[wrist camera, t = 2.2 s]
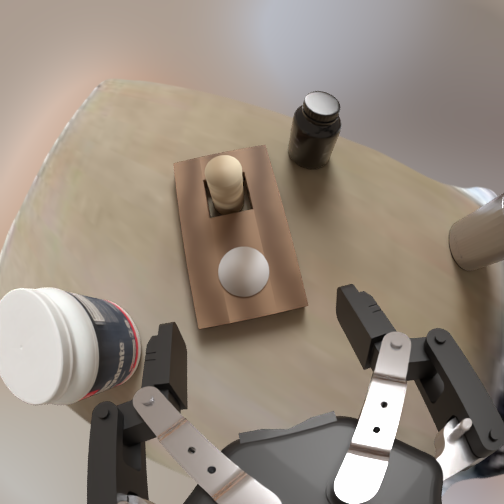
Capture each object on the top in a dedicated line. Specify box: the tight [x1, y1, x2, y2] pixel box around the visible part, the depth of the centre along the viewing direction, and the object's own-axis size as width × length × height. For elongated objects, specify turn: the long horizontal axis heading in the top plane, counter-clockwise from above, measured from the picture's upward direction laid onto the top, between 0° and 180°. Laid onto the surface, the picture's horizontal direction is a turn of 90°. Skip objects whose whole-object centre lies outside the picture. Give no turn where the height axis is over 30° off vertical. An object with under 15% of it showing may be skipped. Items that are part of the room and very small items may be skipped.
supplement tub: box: [0, 288, 141, 405], centre depth 27 cm, size 13×13×18 cm
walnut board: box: [173, 145, 308, 329], centre depth 39 cm, size 14×24×3 cm, turn 12°
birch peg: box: [205, 155, 244, 215], centre depth 37 cm, size 4×4×9 cm
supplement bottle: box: [289, 91, 341, 169], centre depth 38 cm, size 7×7×12 cm
